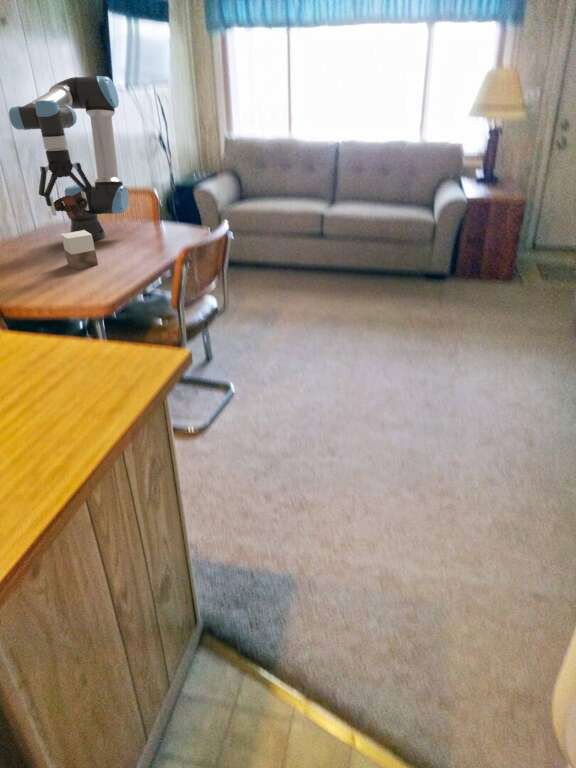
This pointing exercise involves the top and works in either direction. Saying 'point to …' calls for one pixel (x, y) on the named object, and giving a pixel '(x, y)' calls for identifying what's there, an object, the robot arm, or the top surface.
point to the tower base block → (81, 259)
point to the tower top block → (78, 242)
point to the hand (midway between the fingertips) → (70, 212)
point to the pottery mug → (70, 206)
